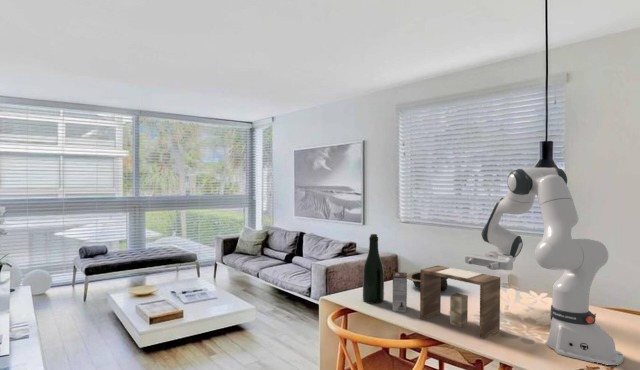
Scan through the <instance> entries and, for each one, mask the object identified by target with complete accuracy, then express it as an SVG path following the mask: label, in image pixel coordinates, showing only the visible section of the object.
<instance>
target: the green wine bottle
mask: <svg viewBox="0 0 640 370" xmlns="http://www.w3.org/2000/svg"><path fill="white" fill-rule="evenodd" d="M368 240H369V241H368V242H369V243H368V244H369V245H368V246H369V247H368V253H367V257H366V260H365V262H364V265H363V273H362V300H363V302H366V303H369V304H382V302H384V301H385V273H384V265H383V261H382V260H381V256H380V253H379V237H378V234H377V233H370V236H369V238H368Z"/></svg>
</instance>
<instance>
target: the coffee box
mask: <svg viewBox="0 0 640 370" xmlns="http://www.w3.org/2000/svg"><path fill="white" fill-rule="evenodd" d="M407 275H408V273H407V272H396V271H393V273H392V312H396V311H399V313H406V312H407V305H408V304H407V299H408V297H407V296H408V289H407V288H408V279H407Z"/></svg>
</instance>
